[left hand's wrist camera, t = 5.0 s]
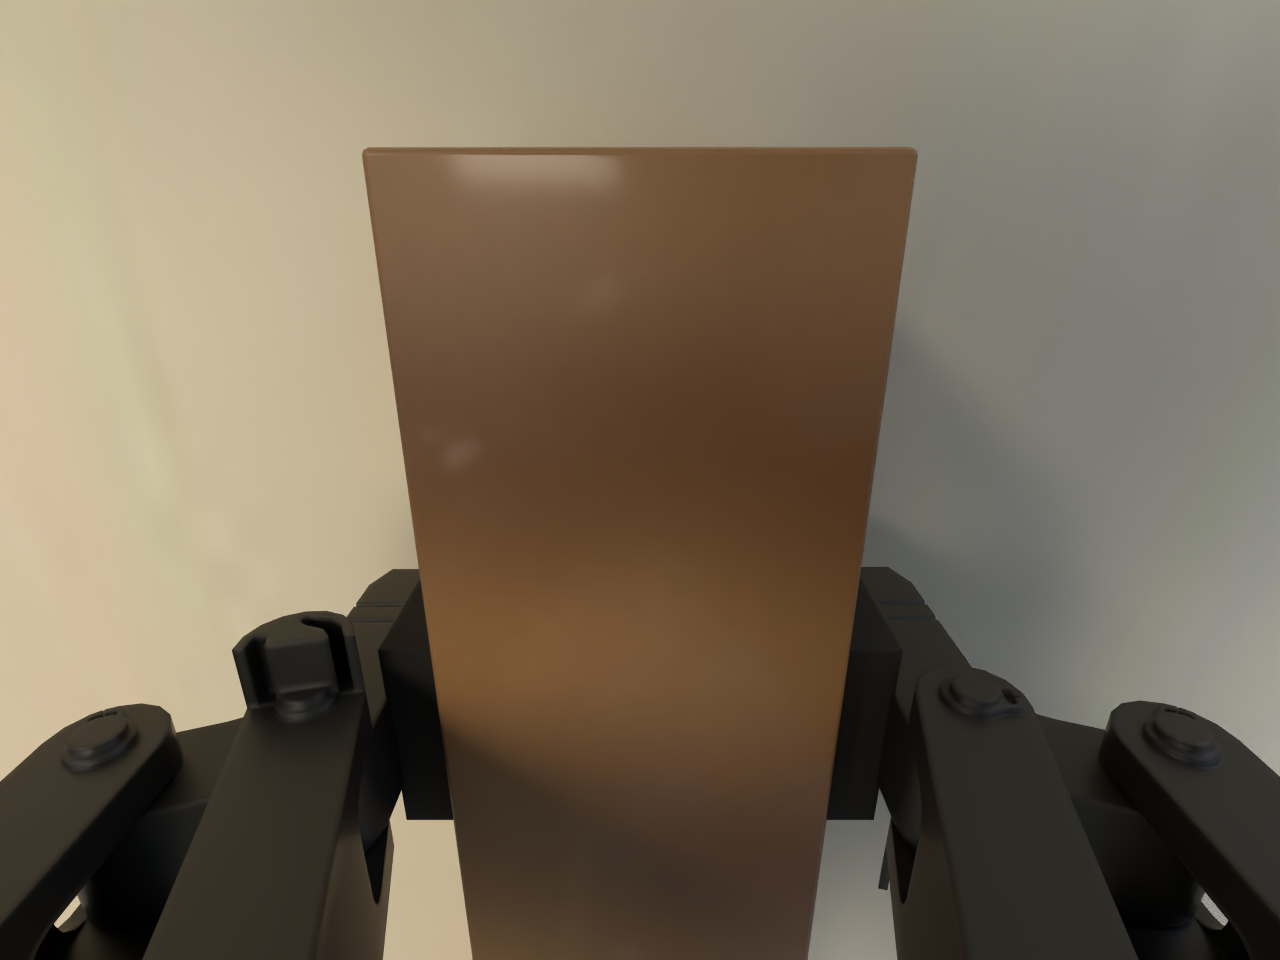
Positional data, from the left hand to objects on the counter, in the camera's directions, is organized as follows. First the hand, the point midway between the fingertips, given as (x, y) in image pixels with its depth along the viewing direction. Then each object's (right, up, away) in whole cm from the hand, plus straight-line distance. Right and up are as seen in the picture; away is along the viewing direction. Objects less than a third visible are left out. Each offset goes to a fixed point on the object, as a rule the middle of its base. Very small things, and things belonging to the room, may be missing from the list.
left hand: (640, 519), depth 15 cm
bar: (0, -18, +8) cm, 19 cm away
